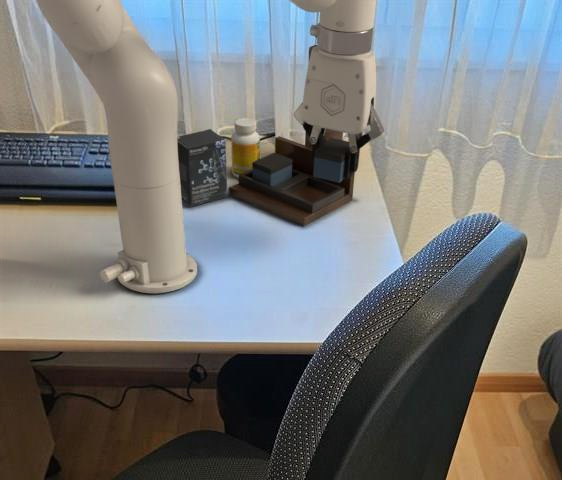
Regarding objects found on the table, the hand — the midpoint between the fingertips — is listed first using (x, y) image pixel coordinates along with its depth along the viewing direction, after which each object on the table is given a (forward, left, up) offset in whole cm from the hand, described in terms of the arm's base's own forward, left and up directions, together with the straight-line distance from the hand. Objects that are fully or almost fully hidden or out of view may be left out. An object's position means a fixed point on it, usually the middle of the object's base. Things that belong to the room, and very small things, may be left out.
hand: (334, 170), depth 118 cm
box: (-2, +28, -12) cm, 31 cm away
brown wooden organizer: (+9, +16, -12) cm, 22 cm away
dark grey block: (+9, +20, -11) cm, 25 cm away
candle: (+26, +22, -12) cm, 36 cm away
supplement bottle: (+11, +29, -12) cm, 33 cm away
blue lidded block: (0, 0, 0) cm, 0 cm away
